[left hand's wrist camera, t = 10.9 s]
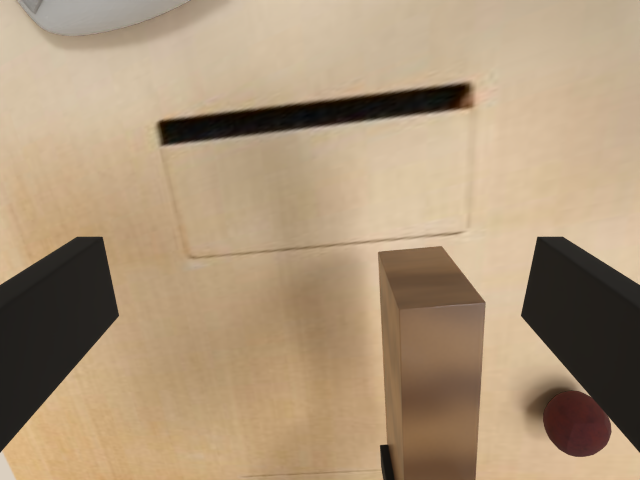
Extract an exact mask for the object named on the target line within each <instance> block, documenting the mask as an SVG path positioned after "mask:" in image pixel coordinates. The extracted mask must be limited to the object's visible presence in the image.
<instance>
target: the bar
mask: <svg viewBox="0 0 640 480" xmlns="http://www.w3.org/2000/svg"><path fill="white" fill-rule="evenodd" d="M378 261H379V282H380V303H381V324H382V345H383V366H384V387H385V407H386V428H387V445H388V447H389V453H390V458H391V463H392V468H393V473H394V478H395V480H475V478H476V460H477V443H478V425H479V407H480V390H481V372H482V354H483V337H484V319H485V301H484V300H483V299H482V297H481V296H480V295H479V293H478V292H477V291H476V290H475V288H474V287H473V286H472V284H471V283H470V282H469V281H468V279H467V278H466V277H465V275H464V274H463V273H462V272H461V270H460V269H459V268H458V266H457V265H456V264H455V263H454V261H453V260H452V259H451V257H450V256H449V255H448V254H447V252H446V251H445V250H444V248H443V247H442V246H439V247H427V248H416V249H405V250H393V251H382V252H378Z"/></svg>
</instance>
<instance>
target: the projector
mask: <svg viewBox="0 0 640 480" xmlns="http://www.w3.org/2000/svg"><path fill="white" fill-rule="evenodd" d="M17 1H18V2H19V4H20V5H21V6H22V8H23V9H24V10H25V11H26V13H27V14H28V15H29V16H30V17H31V18H32V19H33V21H34V22H35V23H37V24H38V25H39V26H40V27H41V28H42V29H44V30H46V31H48V32H51V33H54V34H58V35H65V36H81V35H91V34H96V33H102V32H107V31H112V30H116V29H120V28H124V27H127V26H131V25H134V24H138V23H140V22H143V21H146V20H149V19H152V18H154V17H156V16H159V15H161V14H163V13H166V12H168V11H170V10H172V9H174V8H176V7H178V6H180V5H182V4H185V3H187V2H188V1H190V0H17Z"/></svg>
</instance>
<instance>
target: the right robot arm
mask: <svg viewBox="0 0 640 480" xmlns="http://www.w3.org/2000/svg"><path fill="white" fill-rule="evenodd" d="M380 452H381V468H382V474H383V480H395V478H394V473H393V468H392V463H391V458H390V453H389V447H388V445H380Z"/></svg>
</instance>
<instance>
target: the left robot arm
mask: <svg viewBox="0 0 640 480" xmlns="http://www.w3.org/2000/svg"><path fill="white" fill-rule="evenodd" d="M118 316H119V313H118V309H117V304H116V299H115V294H114V289H113V285H112V280H111V275H110V270H109V265H108V261H107V256H106V251H105V246H104V241H103V237H76V238H75V239H73V240H71V241H70V242H68V243H67V244H65V245H63V246H62V247H60V248H59V249H57V250H55V251H54V252H52V253H51V254H49V255H47V256H46V257H44V258H43V259H41V260H39V261H38V262H36V263H35V264H33V265H31V266H30V267H28V268H27V269H25V270H24V271H22V272H20V273H19V274H17V275H16V276H14V277H12V278H11V279H9V280H8V281H6V282H4V283H3V284H1V285H0V452H1V451H2V450H3V449H4V448H5V446H6V445H7V444H8V443H9V442H10V441H11V440H12V438H13V437H14V436H15V435H16V434H17V433H18V432H19V430H20V429H21V428H22V427H23V426H24V425H25V423H26V422H27V421H28V420H29V419H30V418H31V417H32V415H33V414H34V413H35V412H36V411H37V410H38V409H39V407H40V406H41V405H42V404H43V403H44V402H45V400H46V399H47V398H48V397H49V396H50V395H51V394H52V392H53V391H54V390H55V389H56V388H57V387H58V385H59V384H60V383H61V382H62V381H63V380H64V379H65V377H66V376H67V375H68V374H69V373H70V372H71V371H72V369H73V368H74V367H75V366H76V365H77V364H78V362H79V361H80V360H81V359H82V358H83V357H84V356H85V354H86V353H87V352H88V351H89V350H90V349H91V347H92V346H93V345H94V344H95V343H96V342H97V341H98V339H99V338H100V337H101V336H102V335H103V334H104V333H105V331H106V330H107V329H108V328H109V327H110V326H111V324H112V323H113V322H114V321H115V320H116V319H117V318H118ZM521 316H522V318H523V319H524V320H525V321H526V322H527V323H528V324H529V326H530V327H531V328H532V329H533V330H534V331H535V333H536V334H537V335H538V336H539V337H540V338H541V339H542V341H543V342H544V343H545V344H546V345H547V346H548V347H549V349H550V350H551V351H552V352H553V353H554V354H555V356H556V357H557V358H558V359H559V360H560V361H561V362H562V364H563V365H564V366H565V367H566V368H567V369H568V371H569V372H570V373H571V374H572V375H573V376H574V377H575V379H576V380H577V381H578V382H579V383H580V384H581V385H582V387H583V388H584V389H585V390H586V391H587V392H588V394H589V395H590V396H591V397H592V398H593V399H594V400H595V402H596V403H597V404H598V405H599V406H600V407H601V409H602V410H603V411H604V412H605V413H606V414H607V415H608V417H609V418H610V419H611V420H612V421H613V422H614V423H615V425H616V426H617V427H618V428H619V429H620V430H621V432H622V433H623V434H624V435H625V436H626V437H627V438H628V440H629V441H630V442H631V443H632V444H633V445H634V446H635V448H636V449H637V450H638V451H639V452H640V285H639V284H637V283H636V282H634V281H632V280H631V279H629V278H628V277H626V276H624V275H623V274H621V273H620V272H618V271H616V270H615V269H613V268H612V267H610V266H609V265H607V264H605V263H604V262H602V261H601V260H599V259H597V258H596V257H594V256H593V255H591V254H589V253H588V252H586V251H585V250H583V249H581V248H580V247H578V246H577V245H575V244H573V243H572V242H570V241H569V240H567V239H565V238H564V237H537V241H536V246H535V251H534V256H533V261H532V265H531V270H530V275H529V280H528V285H527V289H526V294H525V299H524V304H523V309H522V313H521Z"/></svg>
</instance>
